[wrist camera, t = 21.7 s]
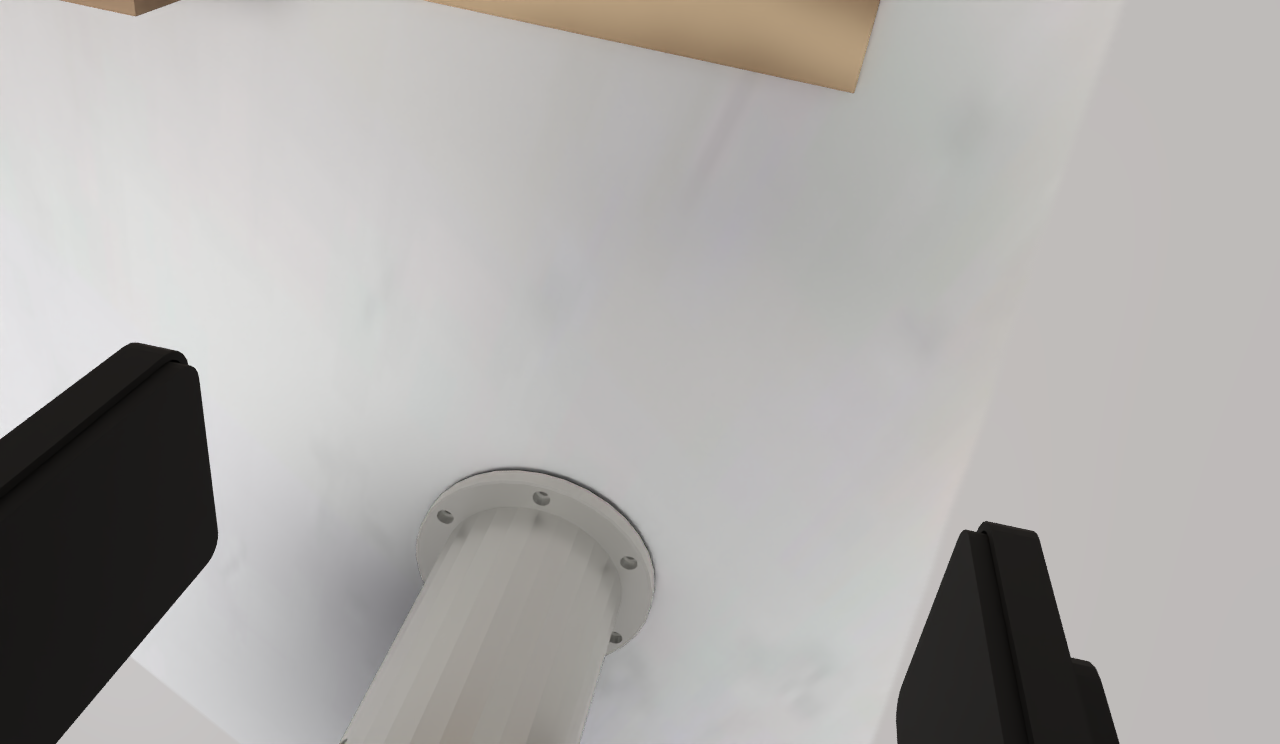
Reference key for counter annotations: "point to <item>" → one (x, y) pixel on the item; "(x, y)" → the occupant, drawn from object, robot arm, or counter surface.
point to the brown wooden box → (125, 5)
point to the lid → (718, 31)
